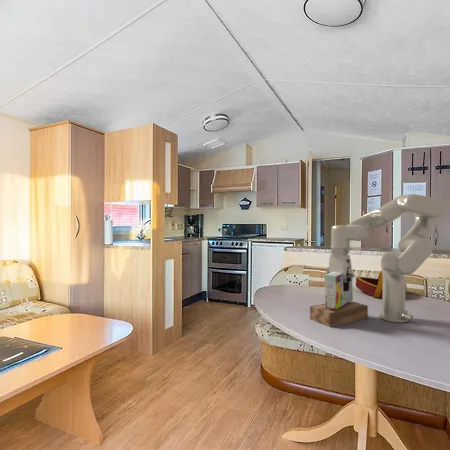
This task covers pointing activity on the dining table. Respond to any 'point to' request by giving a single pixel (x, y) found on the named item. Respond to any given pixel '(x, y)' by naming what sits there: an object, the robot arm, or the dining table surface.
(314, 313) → the walnut riser
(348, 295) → the snack box
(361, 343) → the dining table surface
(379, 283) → the decorative basket
